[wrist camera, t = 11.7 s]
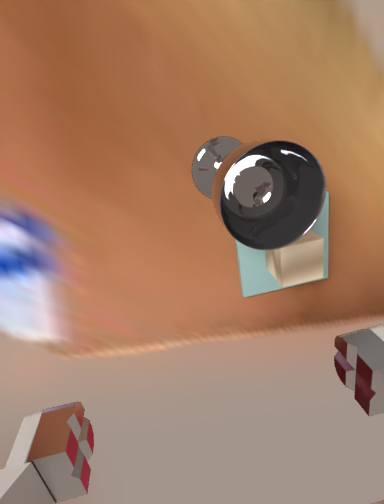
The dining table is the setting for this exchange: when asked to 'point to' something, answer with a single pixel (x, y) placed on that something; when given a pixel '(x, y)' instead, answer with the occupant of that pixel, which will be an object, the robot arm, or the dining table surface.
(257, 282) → the pad
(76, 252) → the dining table surface
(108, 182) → the dining table surface
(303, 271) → the cube
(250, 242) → the wine glass
